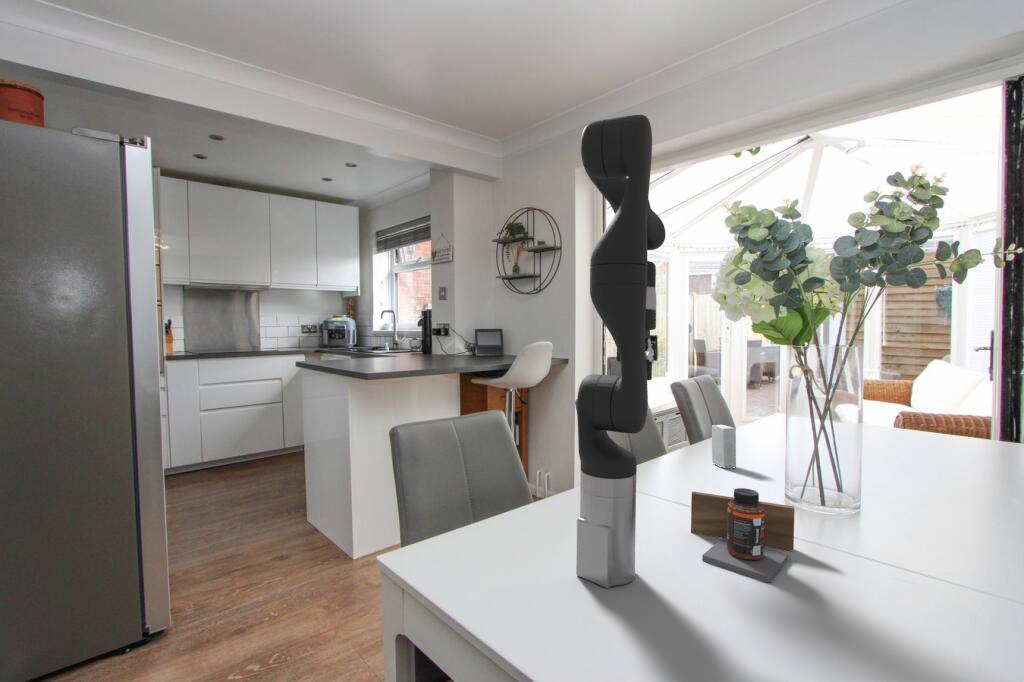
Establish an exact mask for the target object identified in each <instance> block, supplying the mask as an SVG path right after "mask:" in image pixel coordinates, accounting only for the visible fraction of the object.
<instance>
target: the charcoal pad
mask: <svg viewBox="0 0 1024 682" xmlns="http://www.w3.org/2000/svg"><path fill="white" fill-rule="evenodd" d="M702 561H703V562H706V563H709V564H712V565H714V566H718V567H721V568H723V569H726V570H730V571H733V572H736V573H738V574H741V575H745V576H746V577H750V578H753V579H756V580H760V581H763V582H765V583H769V584H771V583H772V581H773V580H774V579H775V577H777V575H778V574H779V573H780V571H781V570H782V569H783V567H784V566H785V565H786V563H787V562H788V561H789V554H788V553H785V552H782V551H777V550H775V549H771V548H767V547H766V546H764V552H763V557H762V558H761V559H759V560H744V559H741V558H737V557H735V556H733V555H732V554H730V553H729V552H728V550H727V536H724V537H723V538H720V540H719V541H717V542H716V543H715V544H713V546H711V547H710V548H709V549H707V550H706V552H704V553H703V554H702Z"/></svg>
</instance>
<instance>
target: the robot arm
mask: <svg viewBox="0 0 1024 682" xmlns="http://www.w3.org/2000/svg"><path fill="white" fill-rule="evenodd" d="M652 130H653V129H652V126H651V122H650V120H649V118H648V117H647V116H646V115H644V114H632V115H626V116H619V117H614V118H613V117H612V118H607V119H601V120H596V121H592V122H590V123H588V124H587V125H586V126H585V127H584V128H583V130H582V134H581V138H580V155H581V162H582V165H583V168H584V170H585V172H586V175H587V176H588V177H589V179H590V180H591V182H592V184H593V185H594V186H595V187H596V189H597V190H598V191H599V192H600V194H601V195H602V196H603V197H604V198H605V201H607V202H608V204H609V205H610V207H611V209H612V210H613V213H614V216H613V217H612V219H611V221H610V222H609V224H608V225H607V227H606V228H605V230H604V231H603V232H602V234H601V236H600V238H599V240H598V241H597V243H596V244H595V246H594V249H593V251H592V254H591V256H590V262H589V263H590V269H589V295H590V299H591V302H592V305H593V307H594V309H595V311H596V313H597V314H598V316H599V318H600V319H601V321H602V323H603V324H604V325H605V327H606V328H607V331H608V332H609V334H610V336H611V338H612V340H613V341H614V344H615V346H616V361H617V362H618V363H620V371H621V372H620V373H621V374H620V375H610V374H594V373H592V374H589V375H586V376H585V377H584V378H583V379H582V380H581V382H580V385H579V388H578V392H577V398H576V399H577V403H576V413H577V414H576V416H577V436H578V437H577V438H578V441H577V442H578V456H579V460H580V461H579V462H580V472H579V473H580V478H579V479H580V483H579V486H580V489H579V518H578V519H576V565H575V566H576V567H575V568H576V569H575V571H576V572H575V573H576V576H578V577H580V578H583V579H585V580H587V581H589V582H592V583H594V584H597V585H599V586H601V587H603V588H606V589H609V588H611V587H614V586H623V585H626V584H629V583H630V582H632V581H633V580H634V578H635V575H636V531H637V529H636V524H637V523H636V522H637V521H636V519H637V517H636V516H637V515H636V514H637V513H636V512H637V469H638V466H637V464H638V463H637V458H636V456H635V455H634V453H632V452H631V451H630V450H628V449H626V448H624V447H623V446H621V445H619V444H618V443H617V442H615V441H614V440H613V439H612V438H611V437H610V436H609V434H608V432H614V433H622V434H629V435H630V434H638V433H641V432H642V430H643V429H644V427H645V424H646V421H647V416H648V409H649V408H648V406H649V404H648V402H649V396H648V395H649V394H648V389H649V388H648V381H652V379H653V378H652V377H653V376H652V375H653V364H654V363H655V362H657V361H658V358H659V357H658V345H659V344H658V335H657V334H651V332H650V331H655V330H656V328H657V291H656V289H657V288H656V286H657V285H656V280H657V279H656V275H657V270H656V264H655V262H653V261H649V260H648V251H654V250H657V249H659V248H661V247H662V246H663V244H664V243H665V240H666V235H667V234H666V228H665V224H664V222H663V220H662V219H661V218H660V216H659V215H658V214H657V213H656V211H654V210H653V209H652V208H651V204H650V199H649V195H650V183H651V170H652V157H653V156H652V155H653V132H652Z"/></svg>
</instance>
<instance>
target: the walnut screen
mask: <svg viewBox="0 0 1024 682" xmlns="http://www.w3.org/2000/svg"><path fill="white" fill-rule="evenodd" d="M733 499H734V496H725V495H720V494H714V493H707V492H706V493H705V492H700V491H691V509H690V512H691V514H690V533H693V534H699V535H705V536H707V537H709V536H710V537H713V538H714V537H715V538H719V539H722V538H723V537H724V536H727V511H728V503H729V502H730V501H731V500H733ZM759 503H760V504H761V505H762V506H763V508H764V517H765V518H764V547H769V548H774V549H780V550H786V551H791V552H794V549H795V548H794V545H795V544H794V542H795V539H794V538H795V512H796V511H795V509H796V508H795V506H793V505H787V504H779V503H775V502H774V503H773V502H766V501H760V500H759Z"/></svg>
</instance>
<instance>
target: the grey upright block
mask: <svg viewBox="0 0 1024 682" xmlns="http://www.w3.org/2000/svg"><path fill="white" fill-rule="evenodd" d="M736 430H737V428H734V427H733V426H730V425H725V424H712V425H711V461H712V462H713V463H715V464H717V465H719V466H721V467H723V468H733V467H736V468H737V438H736V437H737V434H736V433H737V431H736ZM721 467H720V468H721ZM723 468H722V469H723Z"/></svg>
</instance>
